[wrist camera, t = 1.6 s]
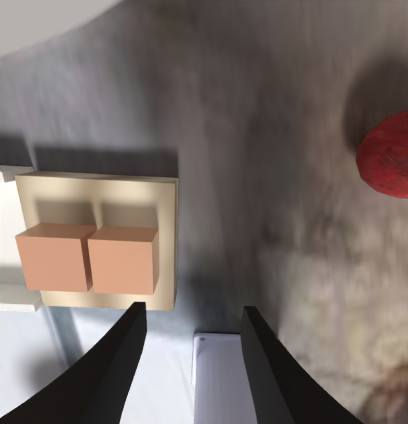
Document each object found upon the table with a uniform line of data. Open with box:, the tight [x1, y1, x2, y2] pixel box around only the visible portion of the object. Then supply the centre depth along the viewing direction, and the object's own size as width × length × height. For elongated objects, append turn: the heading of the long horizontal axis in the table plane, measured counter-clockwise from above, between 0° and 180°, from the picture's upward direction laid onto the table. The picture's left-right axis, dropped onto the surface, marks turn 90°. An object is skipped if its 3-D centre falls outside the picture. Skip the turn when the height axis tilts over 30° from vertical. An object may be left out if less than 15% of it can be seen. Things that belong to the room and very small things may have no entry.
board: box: [14, 171, 178, 311], centre depth 19 cm, size 12×12×2 cm
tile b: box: [15, 223, 97, 293], centre depth 17 cm, size 4×4×2 cm
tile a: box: [87, 226, 160, 295], centre depth 17 cm, size 4×4×2 cm
